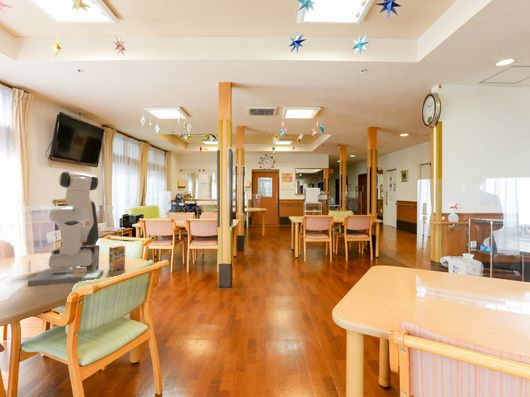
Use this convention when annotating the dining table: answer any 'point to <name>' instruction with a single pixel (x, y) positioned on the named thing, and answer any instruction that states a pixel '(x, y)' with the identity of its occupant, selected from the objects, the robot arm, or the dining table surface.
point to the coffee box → (94, 257)
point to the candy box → (116, 257)
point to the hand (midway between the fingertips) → (70, 274)
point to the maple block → (79, 272)
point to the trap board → (63, 277)
